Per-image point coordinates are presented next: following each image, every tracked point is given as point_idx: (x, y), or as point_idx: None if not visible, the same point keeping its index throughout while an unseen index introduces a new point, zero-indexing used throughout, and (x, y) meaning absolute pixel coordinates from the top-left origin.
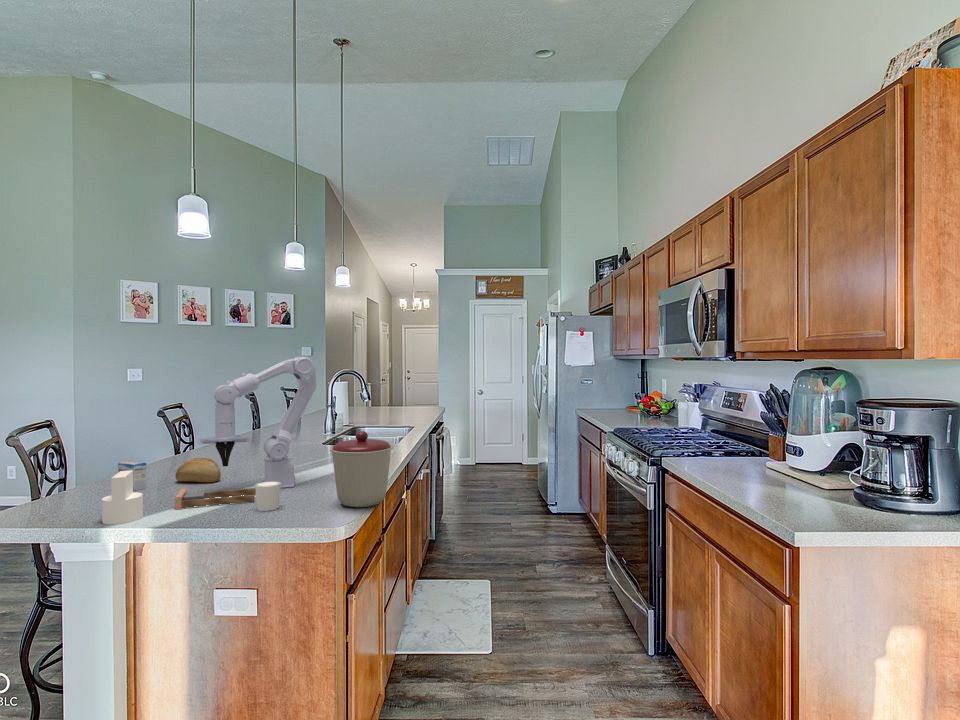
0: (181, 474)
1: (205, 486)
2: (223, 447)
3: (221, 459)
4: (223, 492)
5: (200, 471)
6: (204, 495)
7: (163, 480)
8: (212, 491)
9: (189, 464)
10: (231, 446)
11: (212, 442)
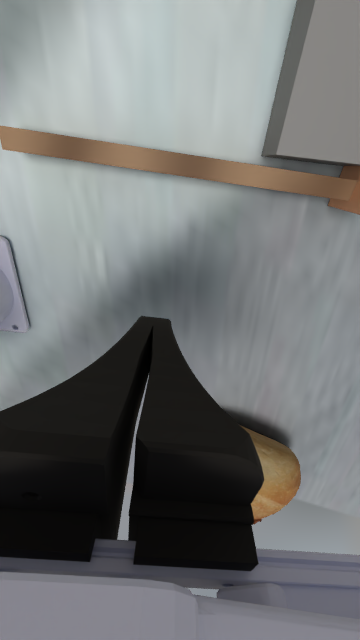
0: (291, 455)
1: (224, 382)
2: (145, 424)
3: (178, 346)
4: (175, 153)
5: None
6: (280, 114)
7: (307, 470)
8: (229, 182)
9: (278, 488)
10: (12, 418)
11: (300, 574)
